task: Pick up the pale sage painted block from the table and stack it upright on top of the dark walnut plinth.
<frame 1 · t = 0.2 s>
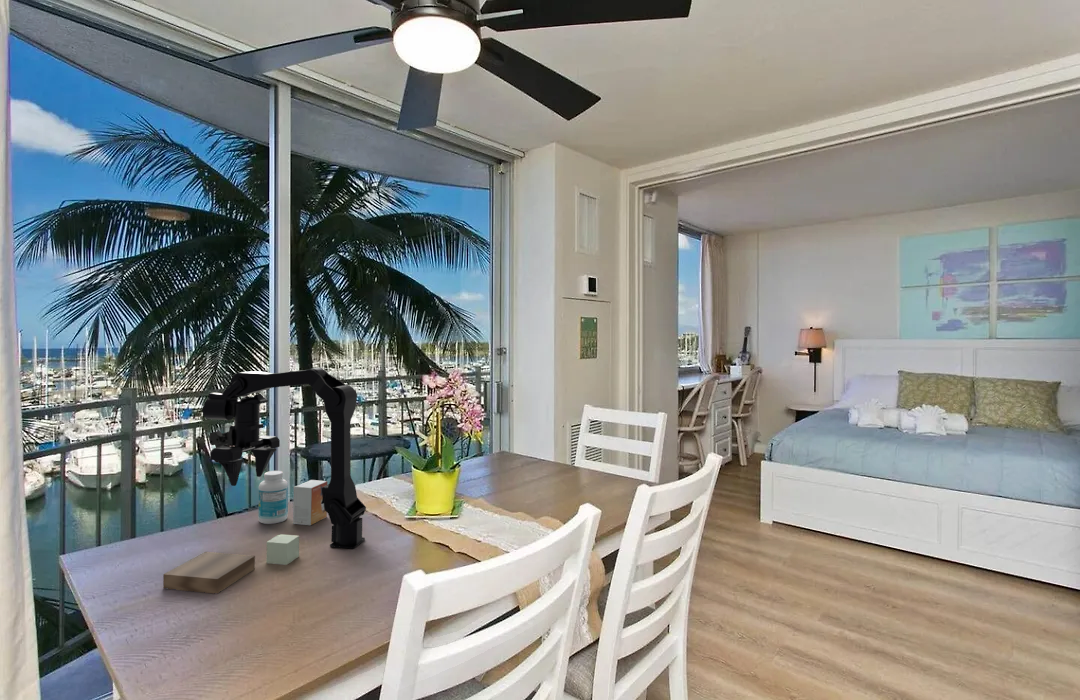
hand: (246, 481, 143), 14 cm above the table, tool pointing down, fingers open, 9 cm apart
sage block: (282, 560, 130), on the table
pill bottle: (273, 521, 156), on the table
walnut plinth: (210, 578, 119), on the table
small box: (310, 521, 157), on the table
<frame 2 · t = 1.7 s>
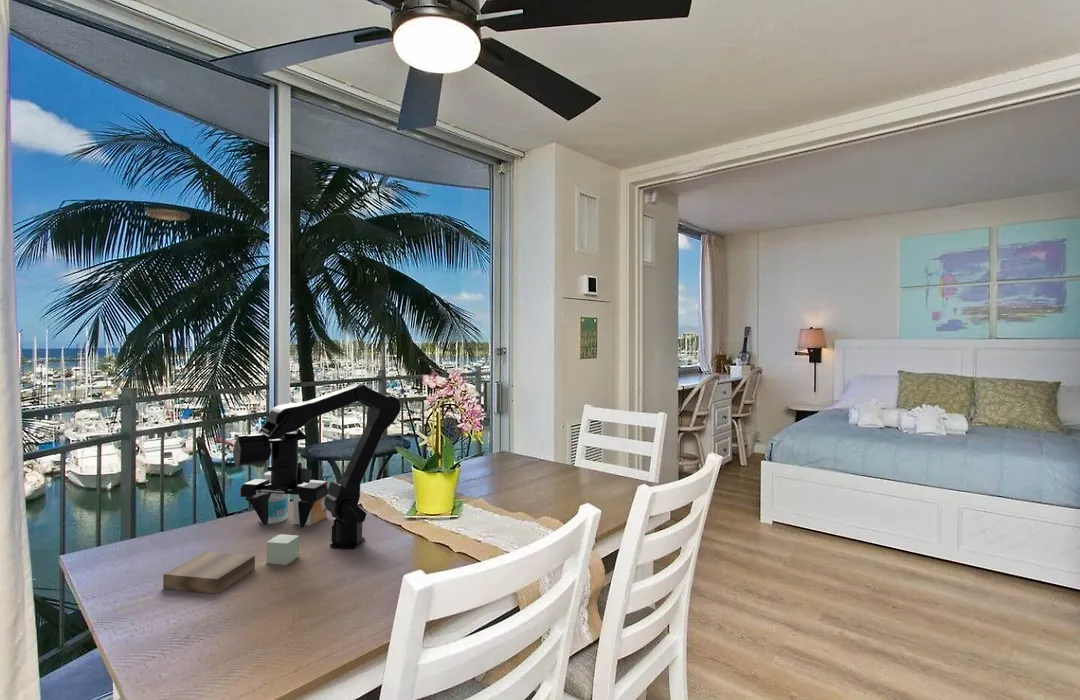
hand: (284, 526, 130), 8 cm above the table, tool pointing down, fingers open, 9 cm apart
nothing on the table moved.
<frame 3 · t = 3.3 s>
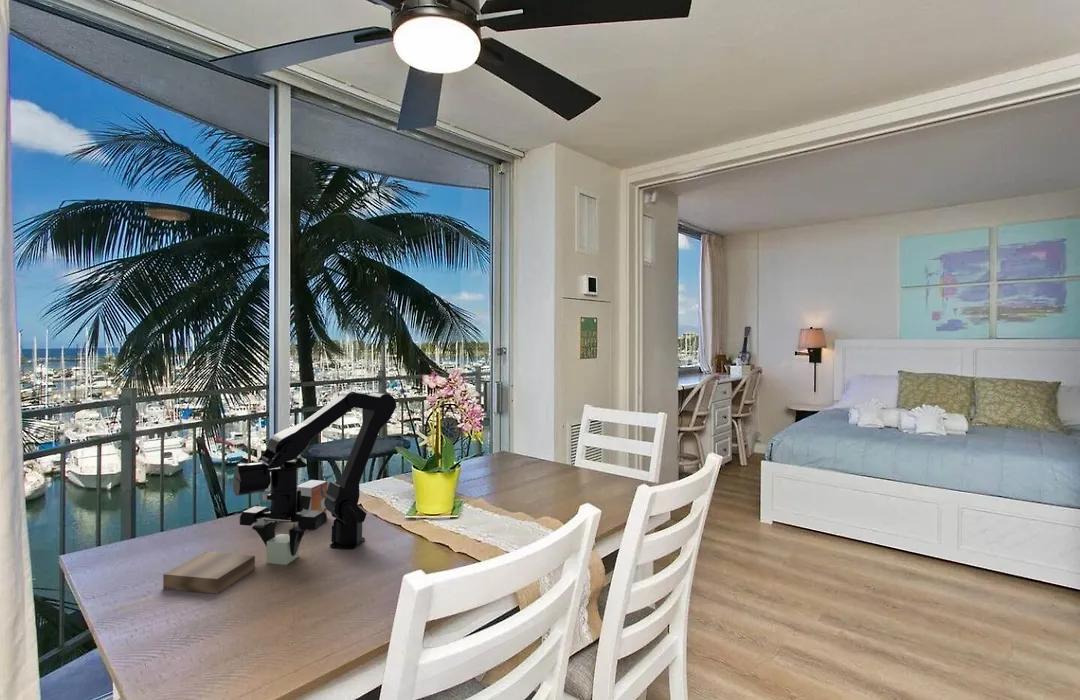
hand: (283, 554, 130), 1 cm above the table, tool pointing down, fingers closed on sage block, 5 cm apart
sage block: (282, 559, 130), on the table, touching gripper
everything else where it was.
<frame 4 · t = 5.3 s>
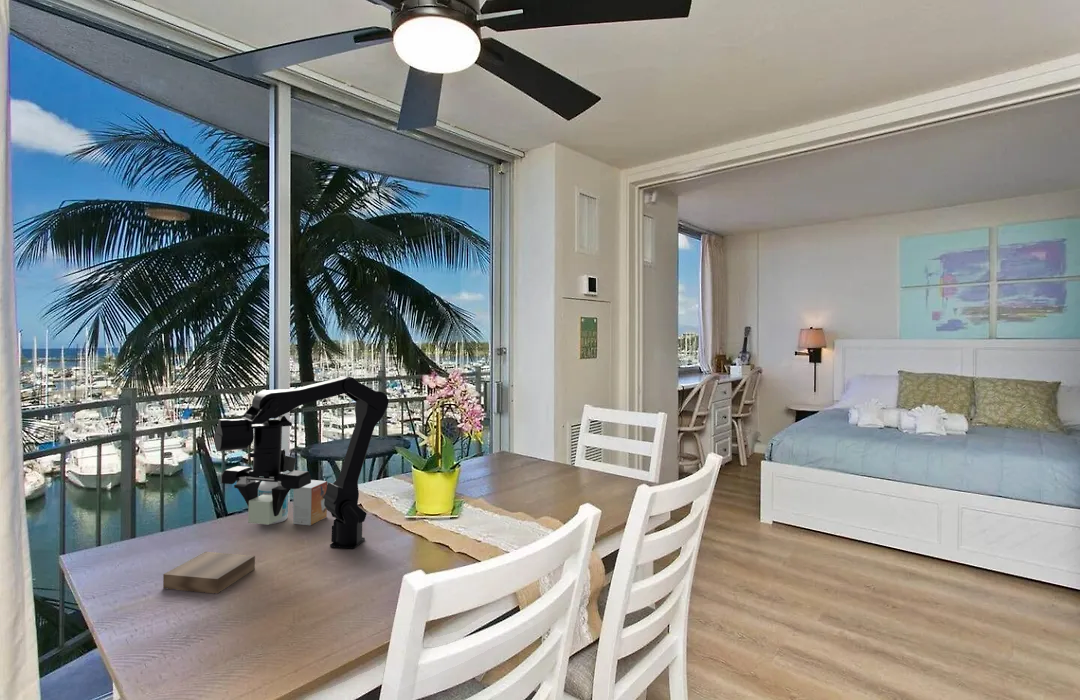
hand: (265, 514, 127), 11 cm above the table, tool pointing down, fingers closed on sage block, 5 cm apart
sage block: (265, 520, 127), point 10 cm above the table, touching gripper
everything else where it was.
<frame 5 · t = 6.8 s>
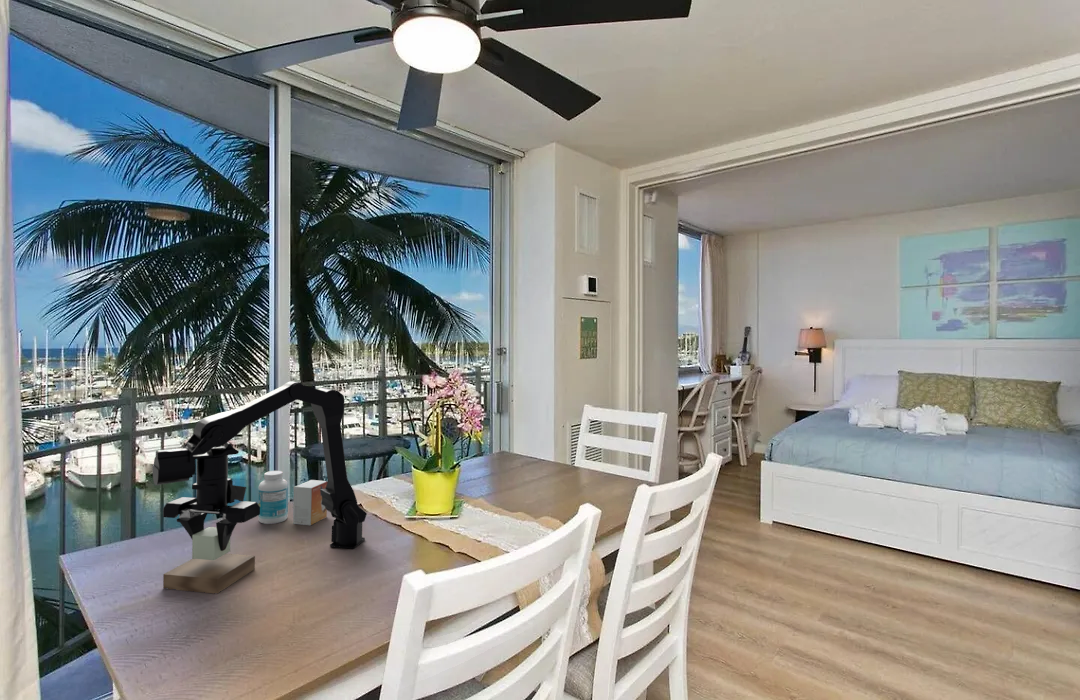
hand: (211, 549, 119), 6 cm above the table, tool pointing down, fingers closed on sage block, 5 cm apart
sage block: (211, 554, 119), point 5 cm above the table, touching gripper
everything else where it was.
when the fingers open (6 cm above the table, at t = 7.7 s): sage block drops 1 cm, resting on walnut plinth.
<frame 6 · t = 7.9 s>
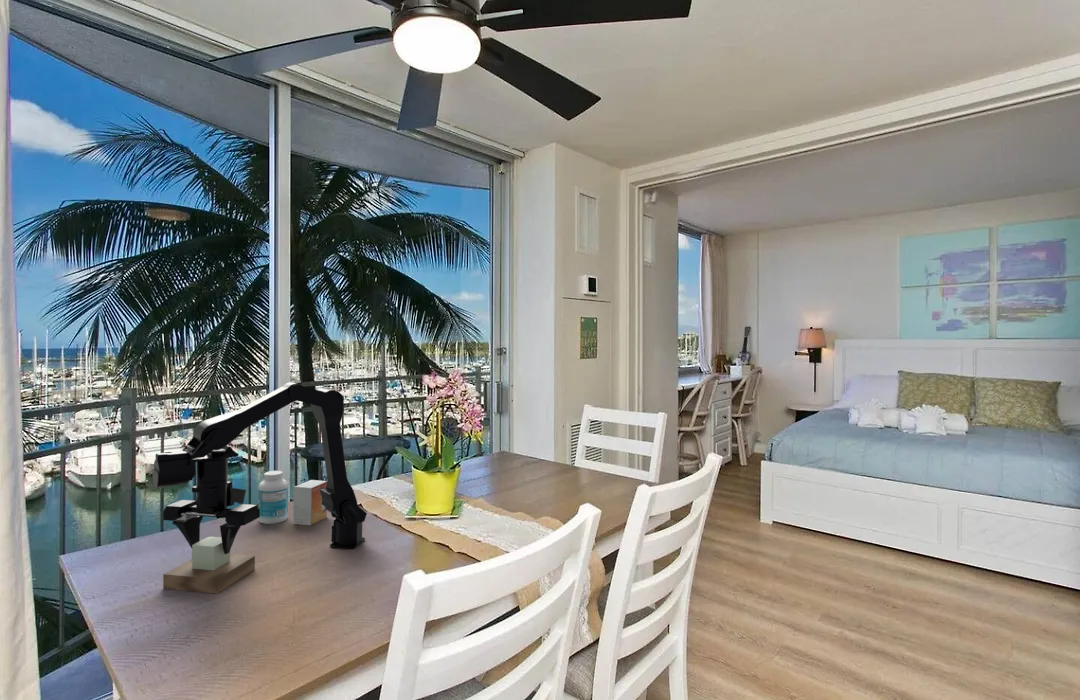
hand: (211, 552, 119), 6 cm above the table, tool pointing down, fingers open, 7 cm apart
sage block: (211, 564, 119), point 3 cm above the table, touching walnut plinth
everything else where it was.
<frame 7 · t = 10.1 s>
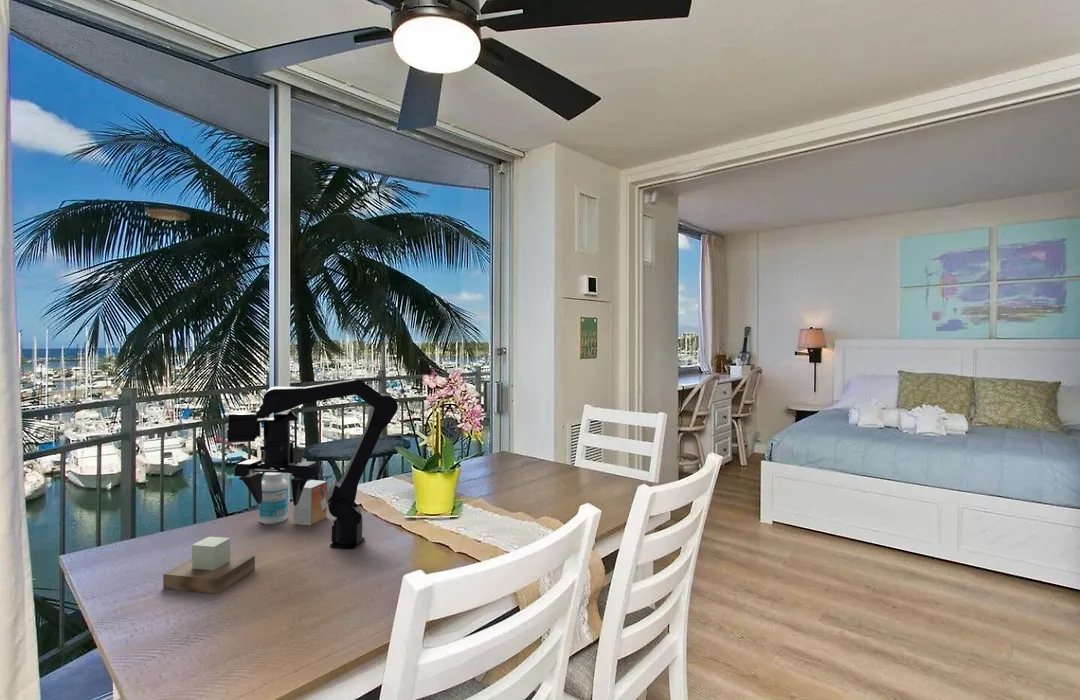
hand: (277, 504, 134), 12 cm above the table, tool pointing down, fingers open, 9 cm apart
nothing on the table moved.
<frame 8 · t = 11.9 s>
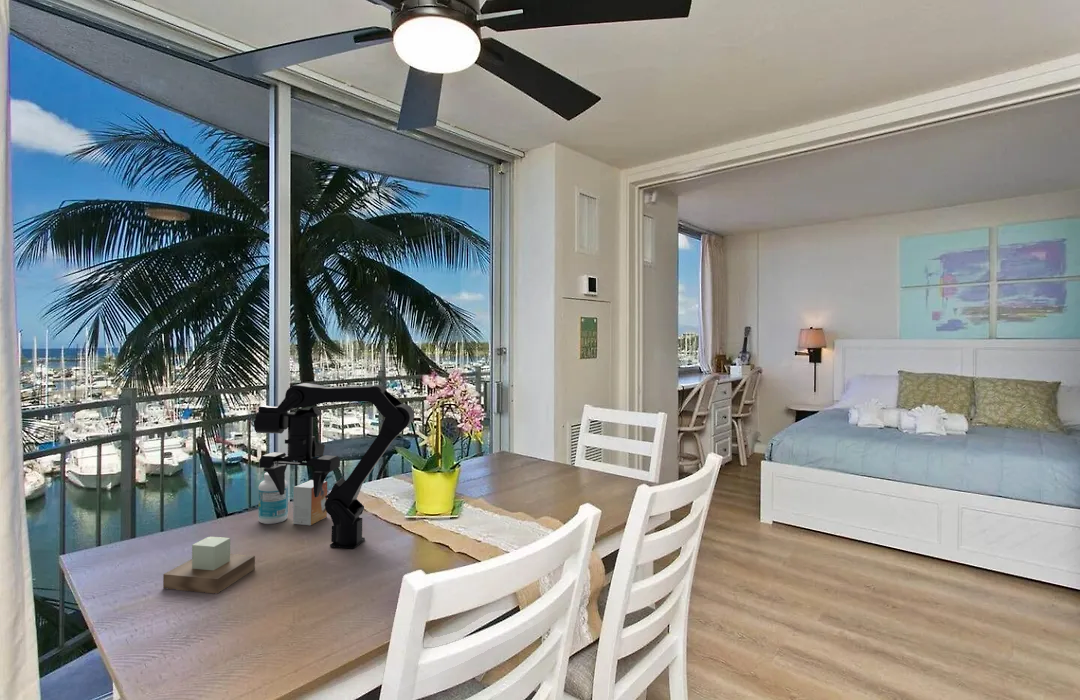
hand: (299, 495, 140), 12 cm above the table, tool pointing down, fingers open, 9 cm apart
nothing on the table moved.
at the end: sage block inside the target area on the walnut plinth (0.0 cm from its centre), point 3.0 cm above the walnut plinth's base; sage block tilted 0°; the gripper is holding nothing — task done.
